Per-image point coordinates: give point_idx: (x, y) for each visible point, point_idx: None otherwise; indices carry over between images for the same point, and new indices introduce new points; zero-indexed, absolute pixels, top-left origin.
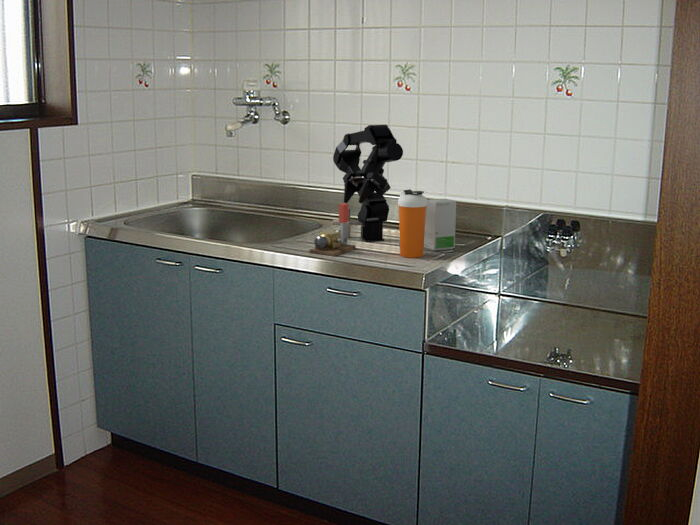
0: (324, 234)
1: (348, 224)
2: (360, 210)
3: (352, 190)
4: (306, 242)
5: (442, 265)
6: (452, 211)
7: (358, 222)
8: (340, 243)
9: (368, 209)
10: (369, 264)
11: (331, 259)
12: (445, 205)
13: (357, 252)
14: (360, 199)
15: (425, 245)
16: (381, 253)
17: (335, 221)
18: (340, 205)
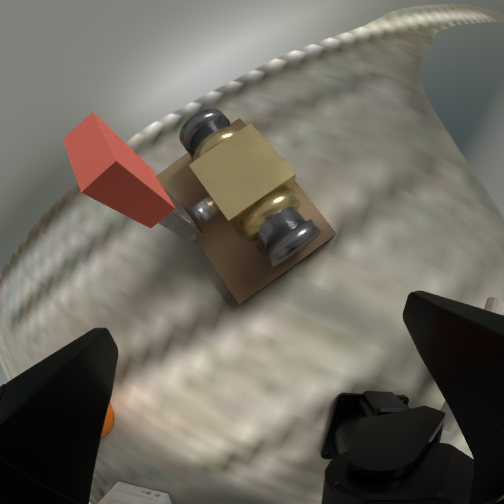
0: (219, 138)
1: None
2: (430, 434)
3: (492, 430)
4: (413, 176)
5: None
6: None
7: (445, 409)
8: (186, 209)
9: (352, 472)
10: (48, 242)
11: None
12: None
13: (177, 280)
14: (79, 344)
15: (155, 494)
16: (133, 349)
17: (491, 309)
18: (84, 123)
